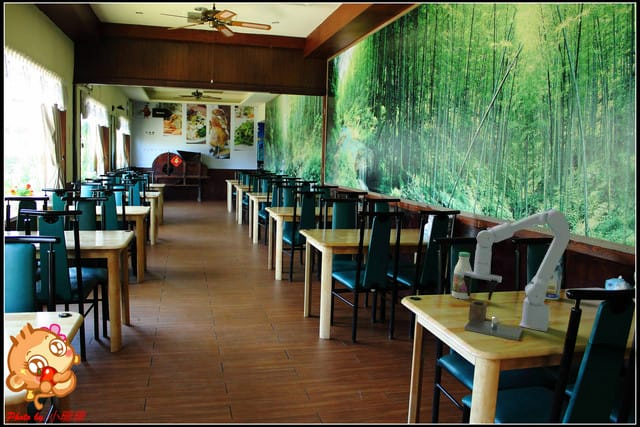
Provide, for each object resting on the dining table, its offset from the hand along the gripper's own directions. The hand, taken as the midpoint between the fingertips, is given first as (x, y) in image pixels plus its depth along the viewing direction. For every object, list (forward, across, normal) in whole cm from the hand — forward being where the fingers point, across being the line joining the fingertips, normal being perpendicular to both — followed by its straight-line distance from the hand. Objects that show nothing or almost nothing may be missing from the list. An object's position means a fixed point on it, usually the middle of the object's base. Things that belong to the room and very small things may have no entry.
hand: (479, 297), depth 200 cm
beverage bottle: (+8, -21, -58) cm, 62 cm away
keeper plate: (+8, -8, +11) cm, 16 cm away
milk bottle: (+8, +13, -29) cm, 33 cm away
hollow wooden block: (+8, 0, 0) cm, 8 cm away
